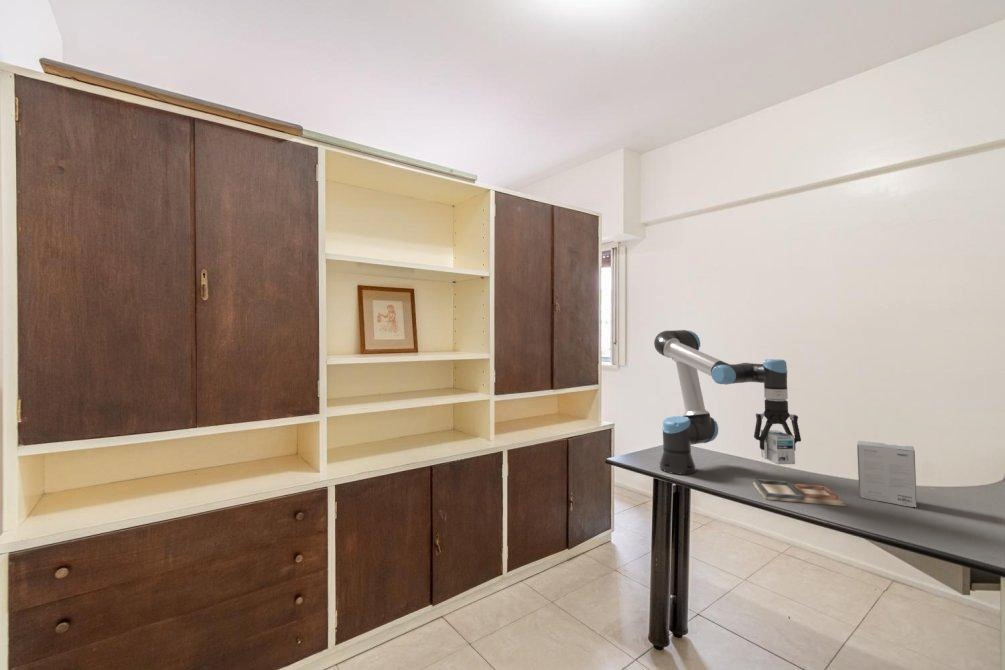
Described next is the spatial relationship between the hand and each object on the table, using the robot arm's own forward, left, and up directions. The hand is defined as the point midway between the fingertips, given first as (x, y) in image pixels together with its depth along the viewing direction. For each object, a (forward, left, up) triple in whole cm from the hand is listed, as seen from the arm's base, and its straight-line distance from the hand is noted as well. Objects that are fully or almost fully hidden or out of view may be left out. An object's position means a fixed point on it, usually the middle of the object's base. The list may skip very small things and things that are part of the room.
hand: (777, 458), depth 161 cm
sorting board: (+6, 0, -13) cm, 15 cm away
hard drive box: (+35, +2, -14) cm, 38 cm away
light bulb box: (0, 0, -1) cm, 1 cm away
